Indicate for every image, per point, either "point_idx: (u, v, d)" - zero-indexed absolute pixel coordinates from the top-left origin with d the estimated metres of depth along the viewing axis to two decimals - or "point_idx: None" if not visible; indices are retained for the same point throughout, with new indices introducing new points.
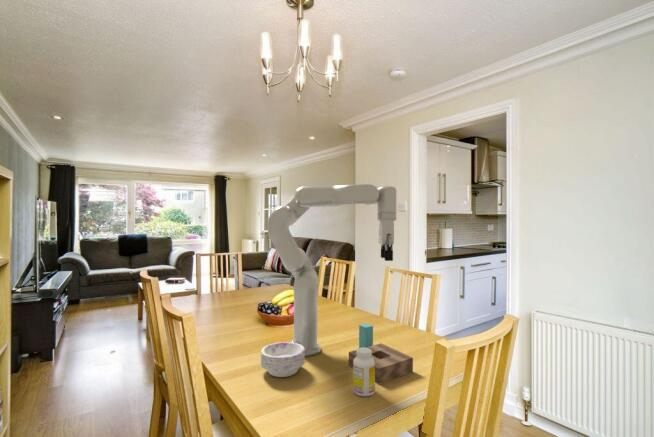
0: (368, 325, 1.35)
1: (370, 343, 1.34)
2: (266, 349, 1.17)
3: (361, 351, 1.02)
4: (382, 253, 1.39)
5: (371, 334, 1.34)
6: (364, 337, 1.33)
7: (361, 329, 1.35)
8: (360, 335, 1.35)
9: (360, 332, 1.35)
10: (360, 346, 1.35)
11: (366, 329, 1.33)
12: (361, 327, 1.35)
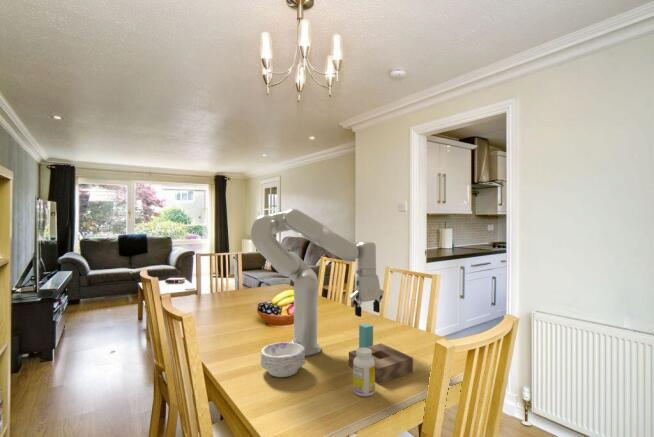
0: (368, 325, 1.35)
1: (370, 343, 1.34)
2: (266, 349, 1.17)
3: (361, 351, 1.02)
4: None
5: (371, 334, 1.34)
6: (364, 337, 1.33)
7: (361, 329, 1.35)
8: (360, 335, 1.35)
9: (360, 332, 1.35)
10: (360, 346, 1.35)
11: (366, 329, 1.33)
12: (361, 327, 1.35)
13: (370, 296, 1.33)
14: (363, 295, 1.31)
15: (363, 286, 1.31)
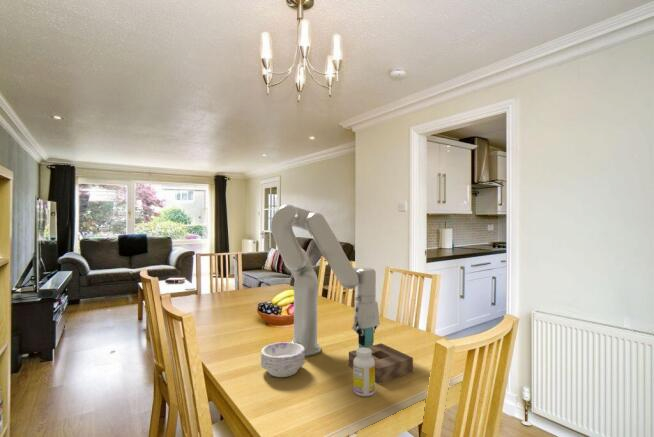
0: None
1: (370, 343, 1.34)
2: (266, 349, 1.17)
3: (361, 351, 1.02)
4: None
5: (371, 334, 1.34)
6: None
7: None
8: None
9: None
10: (360, 346, 1.35)
11: (366, 329, 1.33)
12: None
13: (369, 323, 1.32)
14: (362, 322, 1.31)
15: (362, 313, 1.31)
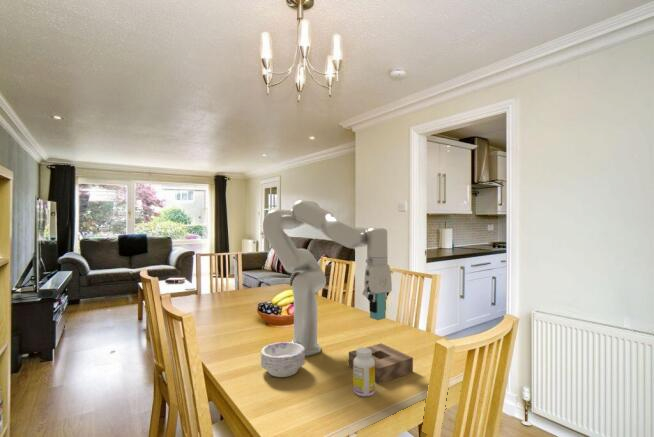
0: None
1: (383, 310, 1.21)
2: (266, 349, 1.17)
3: (361, 351, 1.02)
4: None
5: (383, 300, 1.21)
6: None
7: (372, 295, 1.21)
8: None
9: None
10: (371, 314, 1.22)
11: (378, 294, 1.20)
12: None
13: (381, 288, 1.19)
14: (374, 286, 1.18)
15: (374, 276, 1.18)
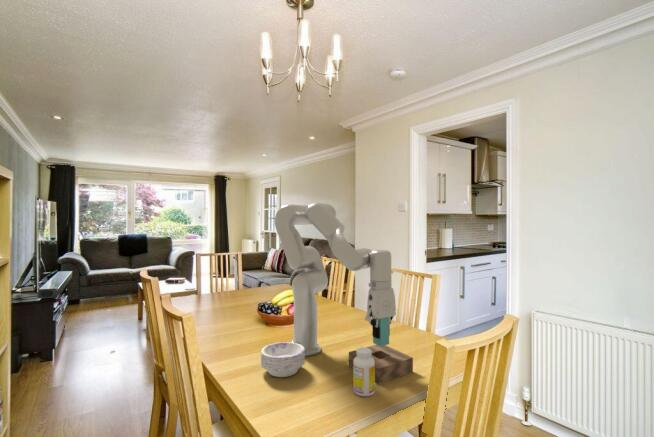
0: None
1: (386, 336, 1.17)
2: (266, 349, 1.17)
3: (361, 351, 1.02)
4: None
5: (387, 325, 1.17)
6: None
7: (375, 320, 1.17)
8: None
9: None
10: (374, 339, 1.18)
11: (381, 319, 1.15)
12: None
13: (384, 313, 1.15)
14: (377, 312, 1.14)
15: (377, 301, 1.14)
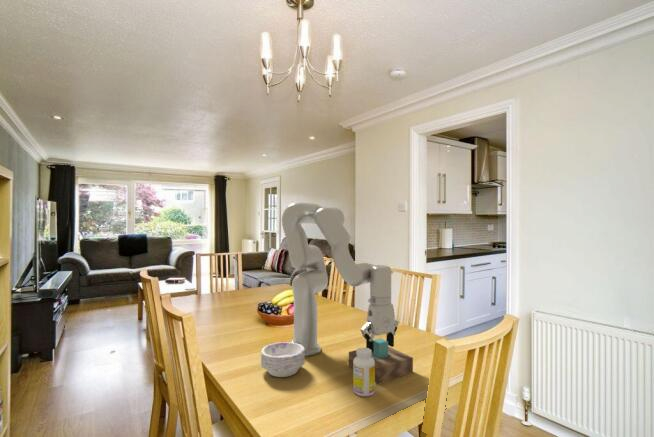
0: (382, 341, 1.18)
1: None
2: (266, 349, 1.17)
3: (361, 351, 1.02)
4: None
5: (386, 351, 1.17)
6: (377, 354, 1.16)
7: (374, 345, 1.18)
8: (373, 352, 1.18)
9: None
10: None
11: (380, 345, 1.16)
12: (374, 343, 1.18)
13: (384, 329, 1.15)
14: (376, 328, 1.14)
15: (376, 317, 1.14)
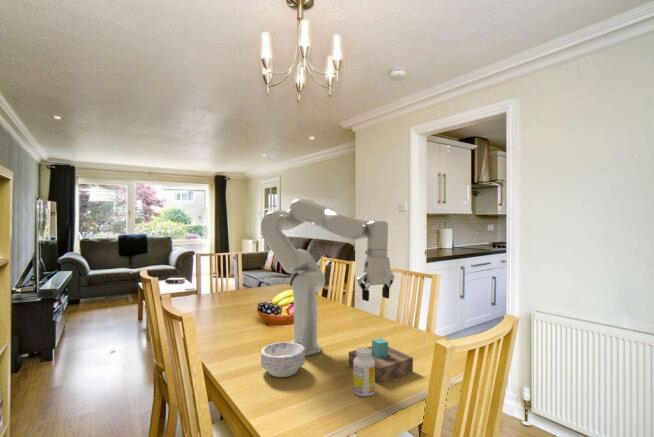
0: (382, 340, 1.18)
1: None
2: (266, 349, 1.17)
3: (361, 351, 1.02)
4: None
5: (386, 351, 1.17)
6: (377, 354, 1.16)
7: (374, 345, 1.18)
8: (373, 352, 1.18)
9: (373, 348, 1.18)
10: None
11: (380, 345, 1.16)
12: (374, 343, 1.18)
13: (379, 279, 1.21)
14: (372, 278, 1.20)
15: (372, 268, 1.20)
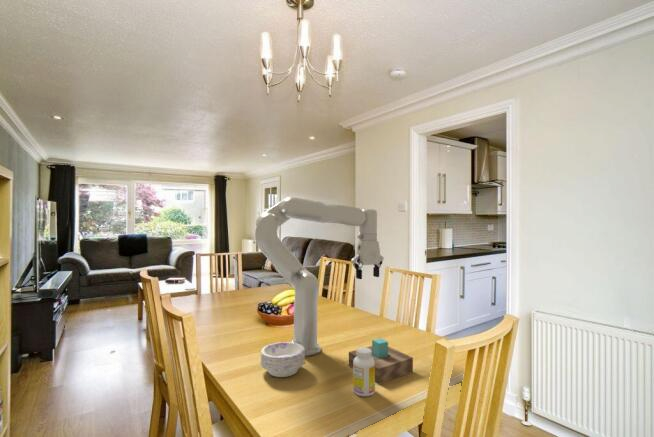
0: (382, 340, 1.18)
1: None
2: (266, 349, 1.17)
3: (361, 351, 1.02)
4: None
5: (386, 351, 1.17)
6: (377, 354, 1.16)
7: (374, 345, 1.18)
8: (373, 352, 1.18)
9: (373, 348, 1.18)
10: None
11: (380, 345, 1.16)
12: (374, 343, 1.18)
13: (370, 260, 1.40)
14: (364, 258, 1.38)
15: (364, 250, 1.38)
